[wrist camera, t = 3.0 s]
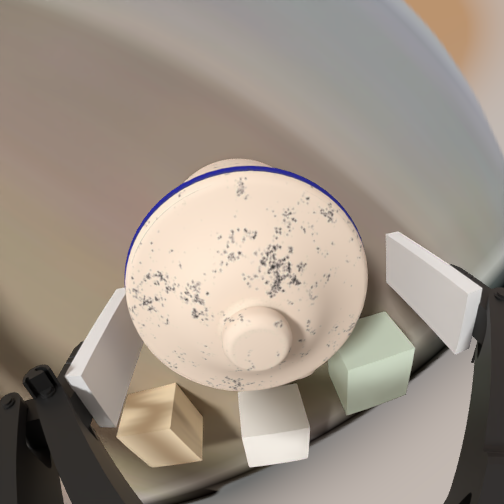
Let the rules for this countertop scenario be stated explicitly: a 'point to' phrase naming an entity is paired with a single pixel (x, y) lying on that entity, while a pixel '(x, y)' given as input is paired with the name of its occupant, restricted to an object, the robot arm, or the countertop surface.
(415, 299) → the robot arm
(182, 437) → the maple cube
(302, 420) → the white painted cube
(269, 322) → the teacup with lid
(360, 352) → the sage painted cube
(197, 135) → the countertop surface
